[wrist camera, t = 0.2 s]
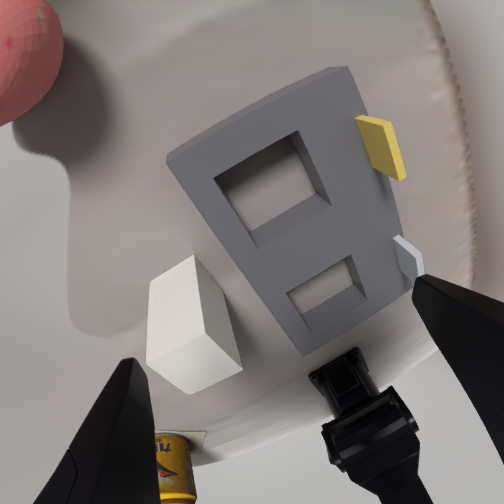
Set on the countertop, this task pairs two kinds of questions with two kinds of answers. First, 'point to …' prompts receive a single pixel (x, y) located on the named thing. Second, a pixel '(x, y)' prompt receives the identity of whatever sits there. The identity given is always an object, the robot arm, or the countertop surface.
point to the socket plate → (311, 203)
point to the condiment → (177, 465)
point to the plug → (190, 329)
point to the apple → (27, 55)
